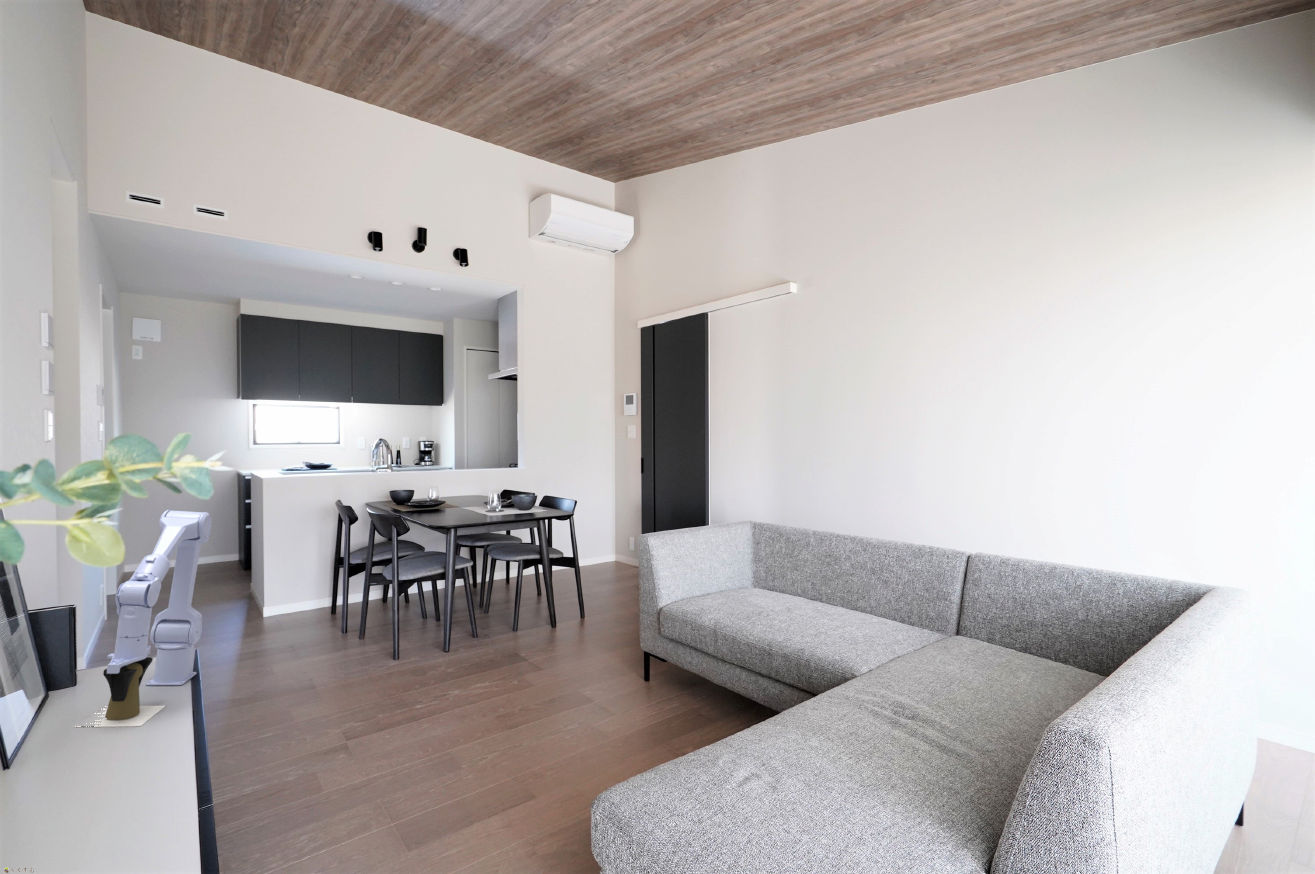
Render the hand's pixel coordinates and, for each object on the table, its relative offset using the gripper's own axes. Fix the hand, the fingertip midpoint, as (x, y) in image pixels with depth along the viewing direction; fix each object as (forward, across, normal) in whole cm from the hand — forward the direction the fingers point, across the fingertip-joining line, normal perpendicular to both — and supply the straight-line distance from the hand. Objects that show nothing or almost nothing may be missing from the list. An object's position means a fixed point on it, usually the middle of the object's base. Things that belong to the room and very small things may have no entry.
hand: (125, 696), depth 146 cm
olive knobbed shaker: (+4, 0, 0) cm, 4 cm away
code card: (+4, 0, 0) cm, 4 cm away
